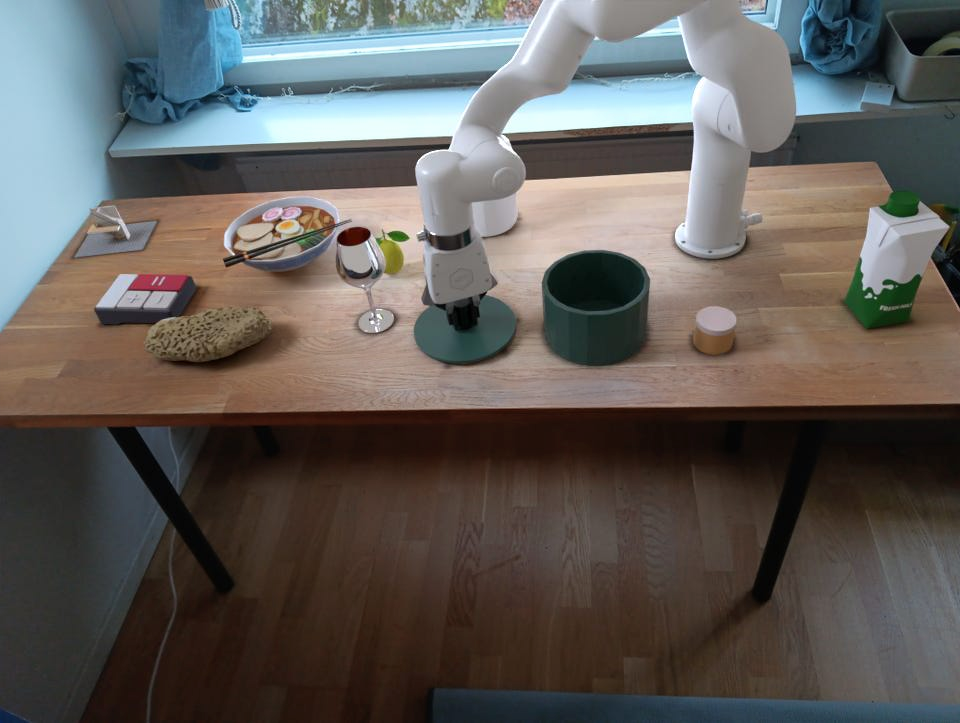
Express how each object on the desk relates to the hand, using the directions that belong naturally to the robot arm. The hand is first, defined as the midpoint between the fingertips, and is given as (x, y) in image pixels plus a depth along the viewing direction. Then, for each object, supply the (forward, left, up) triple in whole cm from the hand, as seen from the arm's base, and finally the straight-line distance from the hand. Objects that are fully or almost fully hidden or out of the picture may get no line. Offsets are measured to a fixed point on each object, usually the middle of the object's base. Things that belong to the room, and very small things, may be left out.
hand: (464, 322), depth 123 cm
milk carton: (-63, +23, -2) cm, 67 cm away
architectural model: (+62, -61, -2) cm, 87 cm away
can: (-14, -31, -2) cm, 34 cm away
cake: (-36, +19, -2) cm, 41 cm away
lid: (0, 0, -1) cm, 1 cm away
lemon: (+8, -22, -2) cm, 24 cm away
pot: (-20, +9, -2) cm, 22 cm away
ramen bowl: (+26, -36, -2) cm, 44 cm away
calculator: (+54, -32, -2) cm, 63 cm away
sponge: (+42, -14, -2) cm, 44 cm away
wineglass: (+14, -9, -2) cm, 17 cm away
